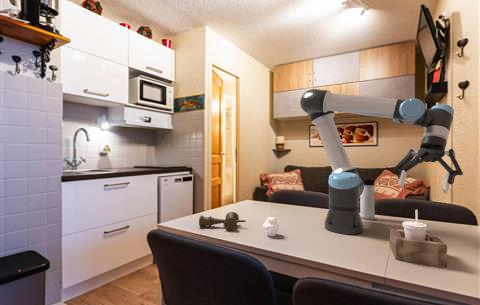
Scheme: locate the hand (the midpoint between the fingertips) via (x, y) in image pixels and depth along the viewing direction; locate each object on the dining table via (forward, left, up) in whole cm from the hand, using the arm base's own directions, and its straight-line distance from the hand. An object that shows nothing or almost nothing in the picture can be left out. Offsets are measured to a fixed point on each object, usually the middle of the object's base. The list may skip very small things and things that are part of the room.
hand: (421, 189), depth 88 cm
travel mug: (-16, +30, -19) cm, 39 cm away
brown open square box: (-5, -16, -19) cm, 25 cm away
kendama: (-73, -15, -19) cm, 77 cm away
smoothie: (-5, -16, -19) cm, 25 cm away
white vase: (-51, -16, -19) cm, 57 cm away
